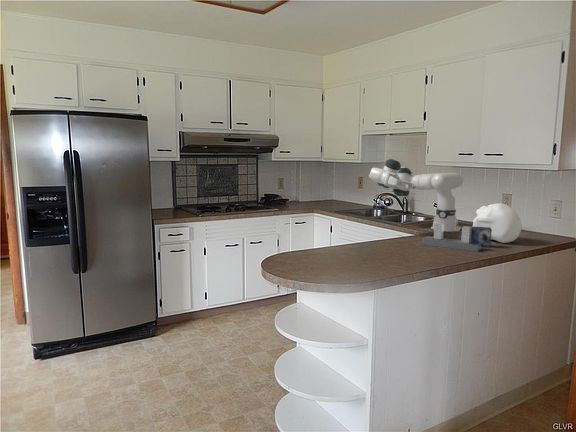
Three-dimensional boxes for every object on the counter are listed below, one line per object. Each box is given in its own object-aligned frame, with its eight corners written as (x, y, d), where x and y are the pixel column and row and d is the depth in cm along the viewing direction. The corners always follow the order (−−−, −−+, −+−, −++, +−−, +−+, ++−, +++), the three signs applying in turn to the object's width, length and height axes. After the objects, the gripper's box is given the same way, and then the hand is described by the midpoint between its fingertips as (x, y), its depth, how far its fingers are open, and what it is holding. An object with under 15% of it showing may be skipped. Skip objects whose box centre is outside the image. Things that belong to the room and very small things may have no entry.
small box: (469, 246, 231) (471, 228, 230) (468, 244, 238) (469, 226, 236) (490, 247, 228) (492, 229, 227) (488, 245, 234) (490, 227, 233)
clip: (435, 243, 238) (436, 223, 237) (442, 244, 236) (443, 224, 234) (433, 245, 235) (434, 224, 233) (440, 245, 233) (441, 224, 231)
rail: (426, 241, 243) (427, 221, 242) (481, 249, 225) (482, 227, 223) (421, 244, 238) (422, 223, 236) (477, 251, 219) (478, 229, 217)
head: (473, 223, 269) (502, 191, 252) (504, 256, 254) (536, 224, 236) (454, 226, 259) (482, 193, 241) (485, 260, 243) (517, 227, 225)
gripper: (398, 186, 261) (417, 193, 253) (382, 183, 246) (402, 190, 237) (401, 177, 260) (421, 184, 251) (386, 173, 245) (406, 180, 236)
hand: (412, 187), depth 244 cm, fingers open, 8 cm apart
